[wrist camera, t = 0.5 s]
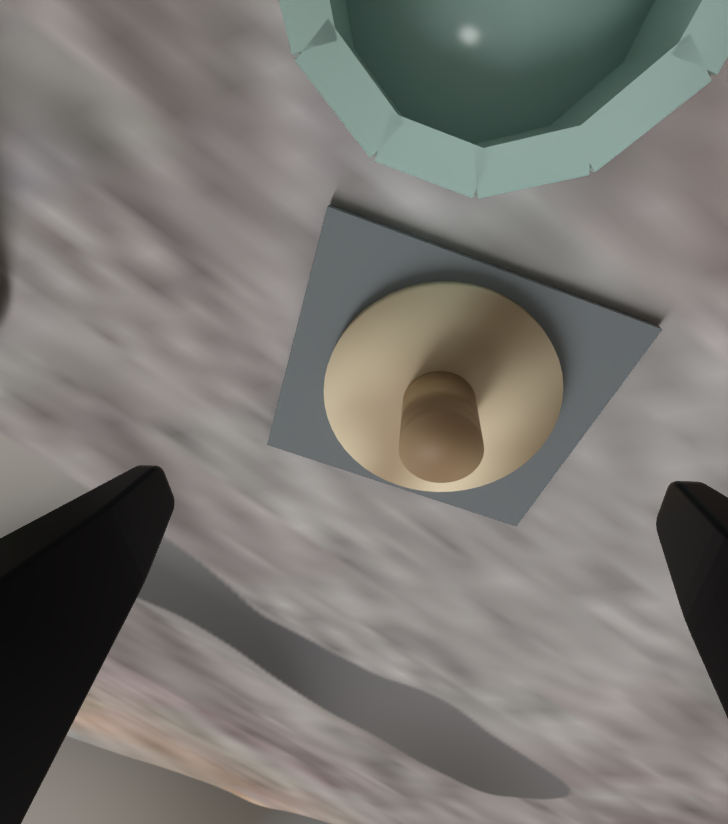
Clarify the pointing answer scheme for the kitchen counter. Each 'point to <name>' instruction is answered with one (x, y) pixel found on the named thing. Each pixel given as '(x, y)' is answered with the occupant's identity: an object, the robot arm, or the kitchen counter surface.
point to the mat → (428, 262)
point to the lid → (443, 387)
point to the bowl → (504, 80)
